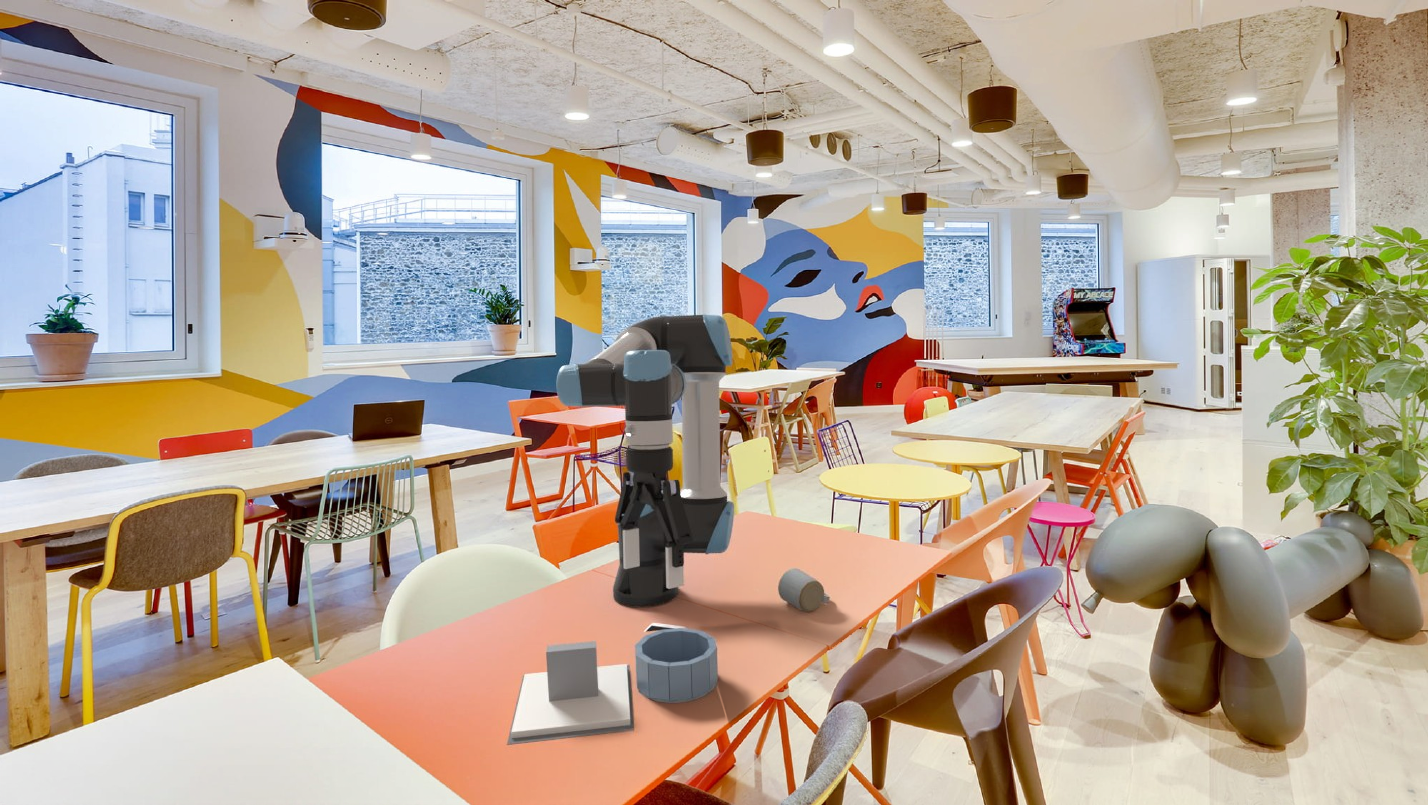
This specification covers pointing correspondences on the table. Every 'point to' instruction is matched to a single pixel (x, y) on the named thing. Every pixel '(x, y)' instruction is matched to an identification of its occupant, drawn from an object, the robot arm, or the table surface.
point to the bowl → (676, 665)
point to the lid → (572, 694)
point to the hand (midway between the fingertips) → (652, 576)
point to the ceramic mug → (801, 590)
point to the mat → (575, 733)
